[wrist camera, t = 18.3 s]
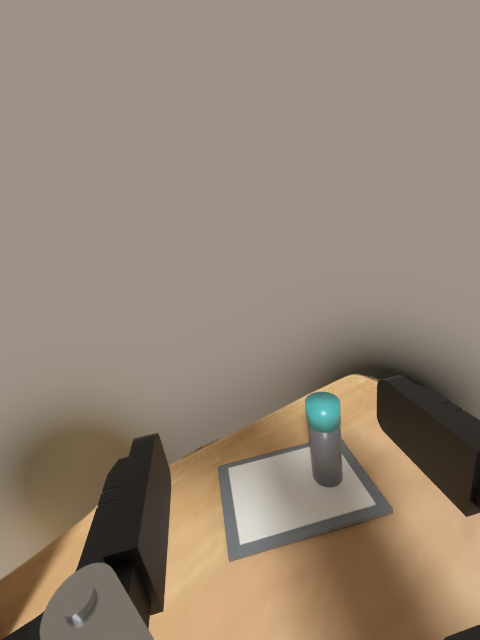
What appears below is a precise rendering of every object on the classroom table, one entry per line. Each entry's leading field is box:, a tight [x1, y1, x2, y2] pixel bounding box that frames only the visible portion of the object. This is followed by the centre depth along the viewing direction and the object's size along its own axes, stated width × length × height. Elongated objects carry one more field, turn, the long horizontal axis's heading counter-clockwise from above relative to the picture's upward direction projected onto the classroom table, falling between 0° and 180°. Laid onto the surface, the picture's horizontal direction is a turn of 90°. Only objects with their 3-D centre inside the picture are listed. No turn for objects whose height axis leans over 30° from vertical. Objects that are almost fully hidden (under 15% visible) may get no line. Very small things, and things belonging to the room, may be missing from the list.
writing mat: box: [218, 439, 393, 562], centre depth 38 cm, size 20×13×1 cm, turn 100°
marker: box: [305, 392, 343, 487], centre depth 37 cm, size 4×4×12 cm
